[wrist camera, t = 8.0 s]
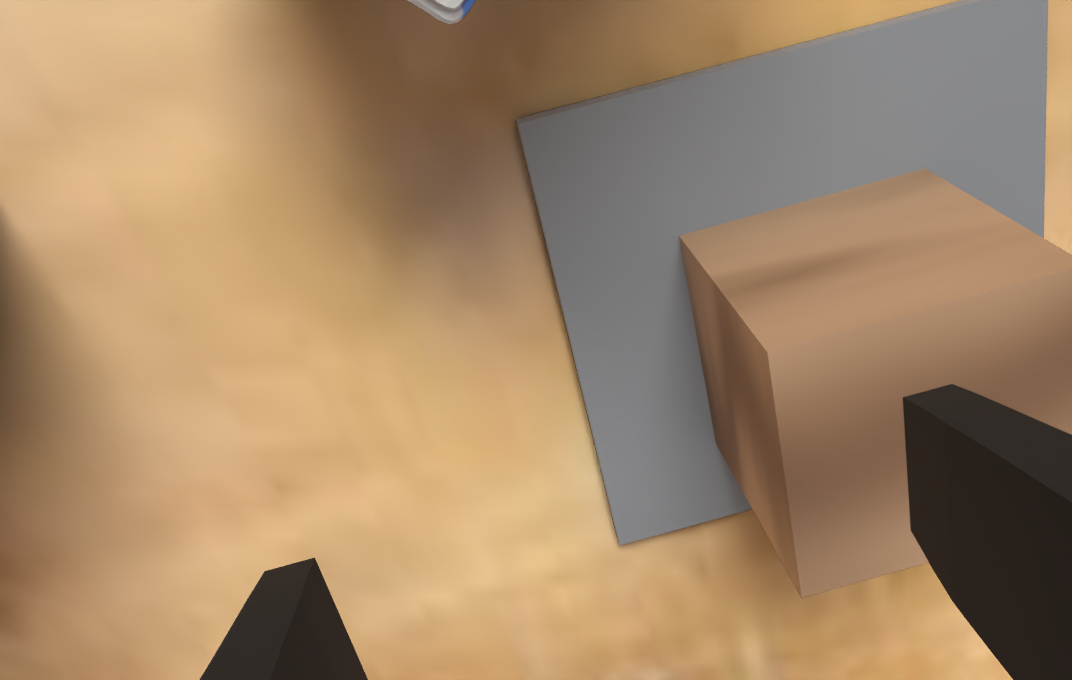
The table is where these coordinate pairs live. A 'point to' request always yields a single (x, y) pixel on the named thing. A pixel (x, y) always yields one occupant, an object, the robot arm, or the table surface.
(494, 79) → the table surface
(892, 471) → the walnut cube
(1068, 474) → the robot arm
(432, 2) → the medicine box
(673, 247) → the mat
